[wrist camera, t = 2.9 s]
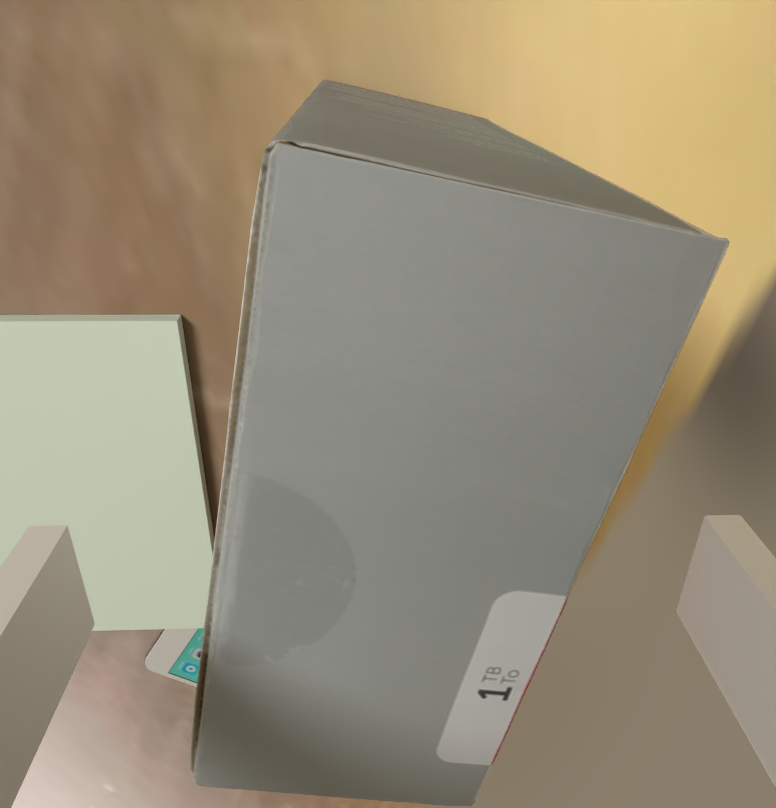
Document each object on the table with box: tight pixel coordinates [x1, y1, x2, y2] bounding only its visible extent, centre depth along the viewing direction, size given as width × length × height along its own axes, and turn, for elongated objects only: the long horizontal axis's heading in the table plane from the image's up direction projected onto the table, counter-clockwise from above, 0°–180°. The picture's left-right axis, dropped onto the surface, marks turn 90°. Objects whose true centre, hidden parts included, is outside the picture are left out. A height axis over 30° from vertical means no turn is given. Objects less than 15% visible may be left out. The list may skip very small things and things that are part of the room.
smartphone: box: [145, 628, 204, 687], centre depth 43 cm, size 8×1×15 cm
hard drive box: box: [190, 80, 729, 806], centre depth 22 cm, size 16×8×20 cm, turn 168°
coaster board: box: [0, 315, 215, 631], centre depth 35 cm, size 20×13×1 cm, turn 179°
